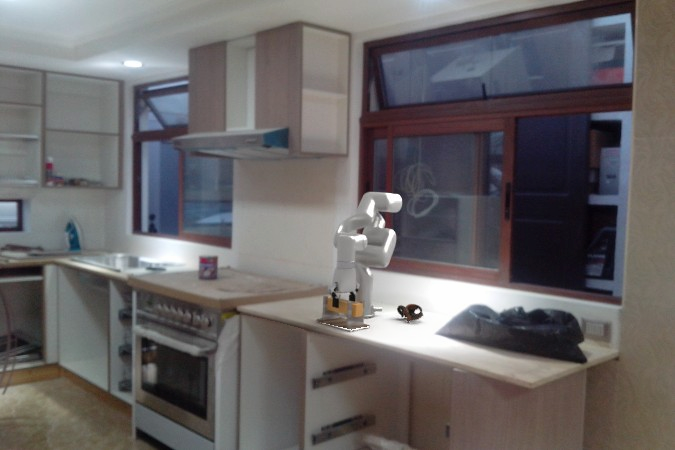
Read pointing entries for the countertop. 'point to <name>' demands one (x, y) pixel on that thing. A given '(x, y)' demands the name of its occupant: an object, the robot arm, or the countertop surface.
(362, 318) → the cradle
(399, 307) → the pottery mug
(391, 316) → the countertop surface
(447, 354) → the countertop surface
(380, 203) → the robot arm
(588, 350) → the countertop surface
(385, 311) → the countertop surface
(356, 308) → the orange rectangular bar
